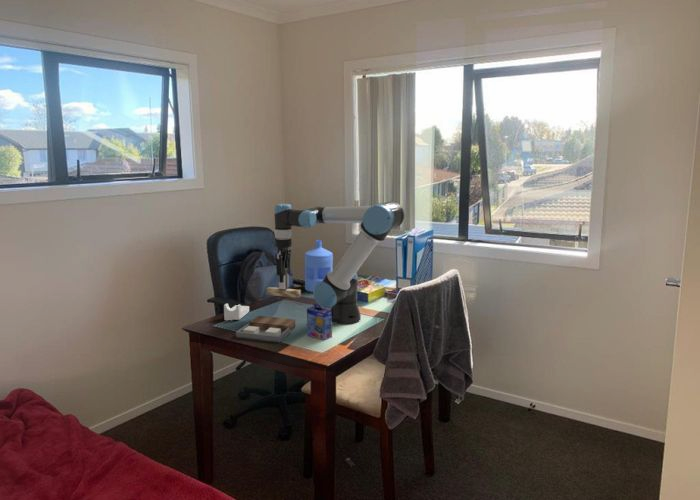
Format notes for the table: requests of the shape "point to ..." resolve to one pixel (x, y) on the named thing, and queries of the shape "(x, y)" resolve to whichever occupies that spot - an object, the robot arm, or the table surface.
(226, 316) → the bracket
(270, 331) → the tile
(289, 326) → the walnut board
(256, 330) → the tile
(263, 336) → the box
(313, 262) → the water jug
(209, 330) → the table surface
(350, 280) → the robot arm
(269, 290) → the inverted t-shaped stand
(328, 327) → the ink cartridge box
